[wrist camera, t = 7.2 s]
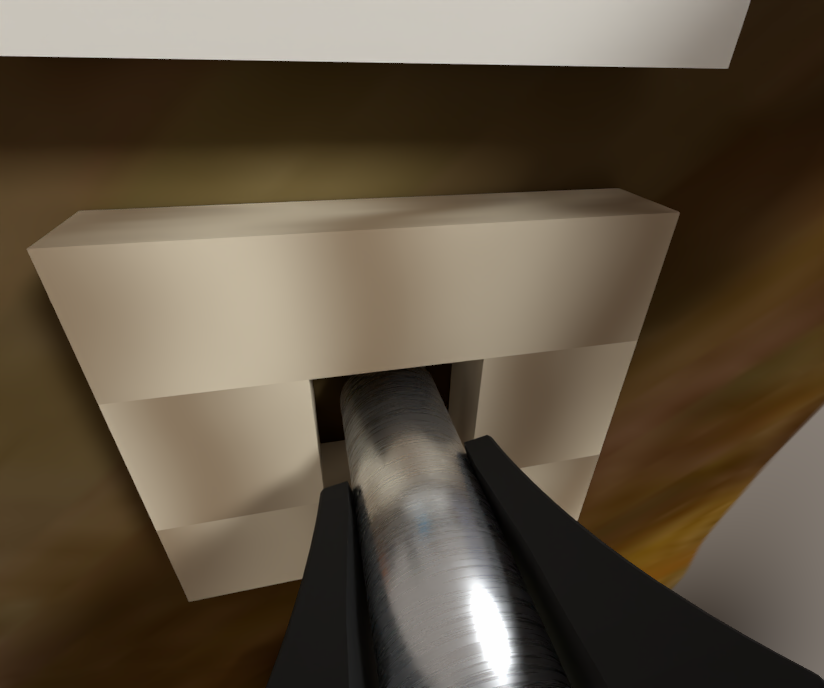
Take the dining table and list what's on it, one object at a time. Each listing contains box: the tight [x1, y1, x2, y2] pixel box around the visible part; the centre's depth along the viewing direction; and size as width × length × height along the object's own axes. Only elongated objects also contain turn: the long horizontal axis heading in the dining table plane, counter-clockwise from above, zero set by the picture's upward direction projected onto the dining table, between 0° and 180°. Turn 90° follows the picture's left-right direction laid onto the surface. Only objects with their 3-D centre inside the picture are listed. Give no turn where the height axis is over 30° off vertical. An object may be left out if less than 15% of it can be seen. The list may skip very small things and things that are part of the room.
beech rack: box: [27, 188, 680, 602], centre depth 14 cm, size 14×12×2 cm
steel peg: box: [340, 366, 572, 688], centre depth 10 cm, size 3×3×9 cm
